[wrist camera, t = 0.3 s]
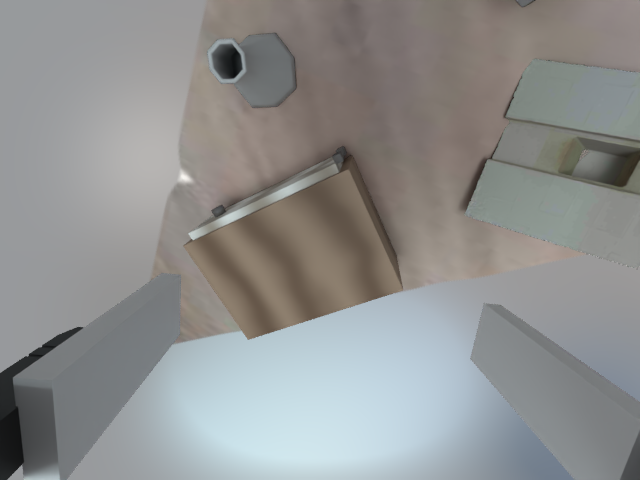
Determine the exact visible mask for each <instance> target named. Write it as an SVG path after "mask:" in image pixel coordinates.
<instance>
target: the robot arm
mask: <svg viewBox="0 0 640 480" xmlns="http://www.w3.org/2000/svg"><path fill="white" fill-rule="evenodd" d="M180 297H181V275H178V274H167V273H161V274H160V275H159V276H157V277H156V278H154V279H153V280H151V281H150V282H149V283H147V284H146V285H144V286H143V287H141V288H140V289H139V290H137V291H136V292H134V293H133V294H131V295H130V296H129V297H127V298H126V299H124V300H123V301H121V302H120V303H119V304H117V305H116V306H114V307H113V308H111V309H110V310H109V311H107V312H106V313H104V314H103V315H102V316H100V317H99V318H97V319H96V320H94V321H93V322H91V323H90V324H89V325H87V326H86V327H84V328H83V327H77V328H74V329H72V330H69V331H67V332H65V333H62V334H59V335H57V336H56V337H54V338H53V339H52V340H50V341H48V342H47V343H45V344H44V345H42V347H41V348H38V349H36V350H35V351H33V352H32V353H30V354H29V356H28V357H27V356H26V357H24V358H22V359H21V360H19V361H18V362H16V363H15V364H13V365H12V366H10V367H9V368H7V369H6V370H4V371H3V372H1V373H0V480H7V479H8V478H9V477H10V476H11V475H12V474H13V473H14V472H15V471H16V470H17V469H18V468H19V467H20V466H21V465H22V466H23V475H24V480H67V478H68V477H69V476H70V475H71V473H72V472H73V471H74V469H75V468H76V467H77V466H78V464H79V463H80V462H81V460H82V459H83V458H84V457H85V455H86V454H87V453H88V452H89V450H90V449H91V448H92V446H93V445H94V444H95V443H96V441H97V440H98V439H99V437H100V436H101V435H102V433H103V432H104V431H105V430H106V428H107V427H108V426H109V424H110V423H111V422H112V421H113V420H114V418H115V417H116V416H117V414H118V413H119V412H120V411H121V409H122V408H123V407H124V405H125V404H126V403H127V402H128V400H129V399H130V398H131V397H132V395H133V394H134V393H135V391H136V390H137V389H138V388H139V386H140V385H141V384H142V382H143V381H144V380H145V379H146V377H147V376H148V375H149V373H150V372H151V371H152V370H153V368H154V367H155V366H156V364H157V363H158V362H159V361H160V359H161V358H162V357H163V356H164V354H165V353H166V352H167V350H168V349H169V348H170V347H171V345H172V344H173V343H174V342H175V340H176V339H177V338H178V336H179V335H180ZM470 359H471V360H472V361H473V362H474V364H475V365H476V366H477V367H478V368H479V369H480V371H481V372H482V373H483V374H484V375H485V376H486V378H487V379H488V380H489V381H490V382H491V383H492V385H493V386H494V387H495V388H496V389H497V390H498V391H499V393H500V394H501V395H502V396H503V397H504V398H505V400H506V401H507V402H508V403H509V404H510V405H511V407H512V408H514V410H515V411H516V412H517V413H518V415H519V416H520V417H521V418H522V419H523V420H524V422H525V423H526V424H527V425H528V426H529V427H530V428H531V430H532V431H533V432H534V433H535V434H536V435H537V437H538V438H539V439H540V440H541V441H542V442H543V444H544V445H545V446H546V447H547V448H548V449H549V451H550V452H551V453H552V454H553V455H554V456H555V457H556V458H557V460H558V461H559V462H560V463H561V464H562V466H563V467H564V468H565V469H566V470H567V471H568V473H569V474H570V475H571V476H572V477H573V478H574V479H575V480H640V402H639V401H638V400H636V399H635V398H633V397H632V396H630V395H629V394H627V393H626V392H625V391H623V390H622V389H620V388H619V387H617V386H616V385H614V384H613V383H611V382H610V381H609V380H607V379H606V378H605V377H603V376H601V375H600V374H599V373H597V372H596V371H594V370H593V369H592V368H590V367H588V366H587V365H586V364H584V363H583V362H581V361H580V360H579V359H577V358H576V357H574V356H573V355H572V354H570V353H569V352H567V351H566V350H564V349H563V348H561V347H560V346H559V345H557V344H556V343H554V342H553V341H551V340H550V339H549V338H547V337H546V336H544V335H543V334H541V333H540V332H539V331H537V330H536V329H534V328H533V327H531V326H530V325H528V324H527V323H526V322H524V321H523V320H521V319H520V318H518V317H517V316H516V315H514V314H512V313H511V312H510V311H508V310H507V309H505V308H504V307H503V306H501V305H495V304H484V305H483V309H482V313H481V317H480V321H479V325H478V329H477V333H476V338H475V342H474V346H473V350H472V354H471V358H470Z"/></svg>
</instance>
